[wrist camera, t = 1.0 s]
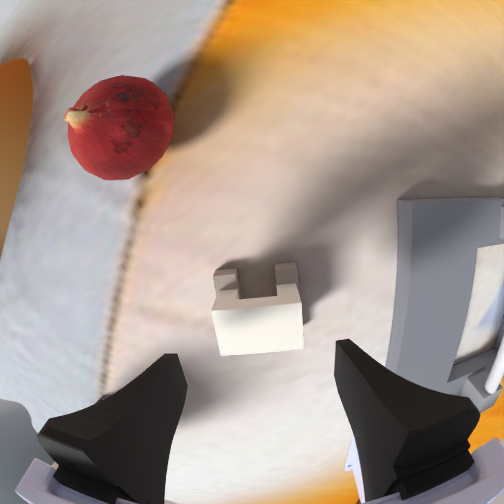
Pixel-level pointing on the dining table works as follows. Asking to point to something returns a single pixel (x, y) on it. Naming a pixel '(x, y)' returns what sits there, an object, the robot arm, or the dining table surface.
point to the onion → (120, 127)
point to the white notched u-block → (258, 314)
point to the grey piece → (443, 295)
